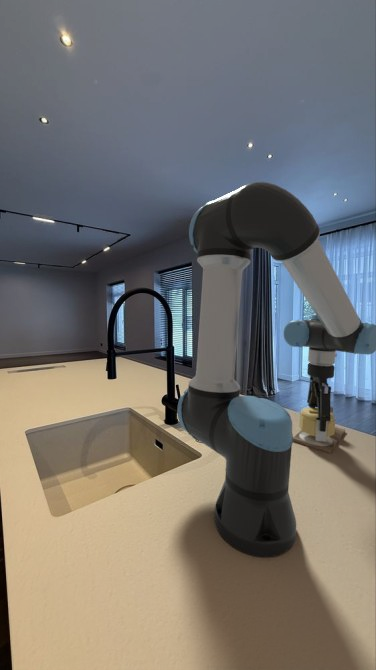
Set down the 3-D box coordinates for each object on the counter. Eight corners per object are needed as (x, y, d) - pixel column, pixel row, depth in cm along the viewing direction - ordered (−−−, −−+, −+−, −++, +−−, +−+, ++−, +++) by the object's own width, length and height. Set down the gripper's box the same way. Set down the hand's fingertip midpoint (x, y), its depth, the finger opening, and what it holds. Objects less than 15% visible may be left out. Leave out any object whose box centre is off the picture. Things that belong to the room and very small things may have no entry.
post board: (330, 453, 82) (332, 423, 81) (292, 441, 89) (294, 413, 88) (345, 432, 97) (347, 406, 97) (311, 423, 104) (313, 399, 104)
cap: (304, 435, 85) (305, 415, 85) (297, 422, 94) (298, 404, 94) (337, 438, 84) (339, 418, 83) (327, 425, 93) (329, 407, 92)
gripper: (347, 372, 76) (341, 451, 78) (323, 358, 97) (318, 421, 99) (318, 370, 77) (312, 448, 79) (300, 357, 98) (296, 419, 101)
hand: (315, 433), depth 89 cm, fingers closed on cap, 9 cm apart
